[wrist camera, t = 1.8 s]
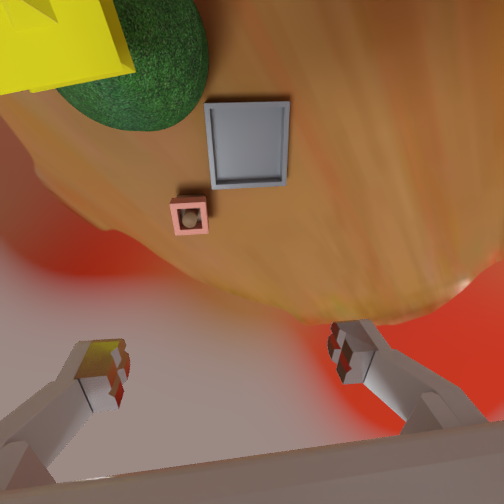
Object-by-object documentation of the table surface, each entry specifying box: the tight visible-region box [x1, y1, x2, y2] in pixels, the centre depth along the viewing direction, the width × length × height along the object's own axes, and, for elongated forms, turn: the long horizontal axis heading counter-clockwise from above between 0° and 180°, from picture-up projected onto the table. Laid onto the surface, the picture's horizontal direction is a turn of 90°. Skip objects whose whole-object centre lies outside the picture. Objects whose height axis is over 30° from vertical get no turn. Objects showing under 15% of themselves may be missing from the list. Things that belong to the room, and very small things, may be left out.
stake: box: [177, 194, 204, 228], centre depth 50 cm, size 5×5×7 cm
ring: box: [170, 196, 209, 236], centre depth 49 cm, size 6×6×3 cm
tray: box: [204, 101, 290, 190], centre depth 47 cm, size 14×14×3 cm
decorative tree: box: [0, 0, 209, 131], centre depth 28 cm, size 19×19×30 cm
